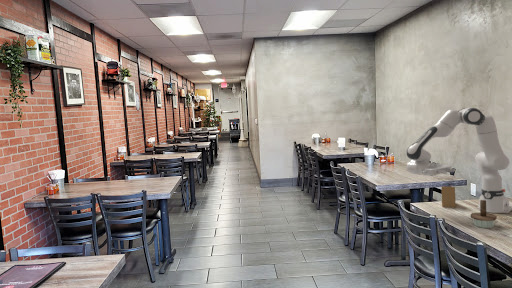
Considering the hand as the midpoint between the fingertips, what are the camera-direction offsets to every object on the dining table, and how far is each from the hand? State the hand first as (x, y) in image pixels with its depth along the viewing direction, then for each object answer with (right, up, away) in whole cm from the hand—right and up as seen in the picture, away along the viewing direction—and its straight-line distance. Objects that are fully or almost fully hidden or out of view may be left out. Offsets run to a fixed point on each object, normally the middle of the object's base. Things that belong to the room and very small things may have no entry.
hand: (450, 171), depth 224 cm
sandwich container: (+16, -27, +32) cm, 45 cm away
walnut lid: (+11, -26, -16) cm, 33 cm away
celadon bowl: (+11, -31, -16) cm, 36 cm away
